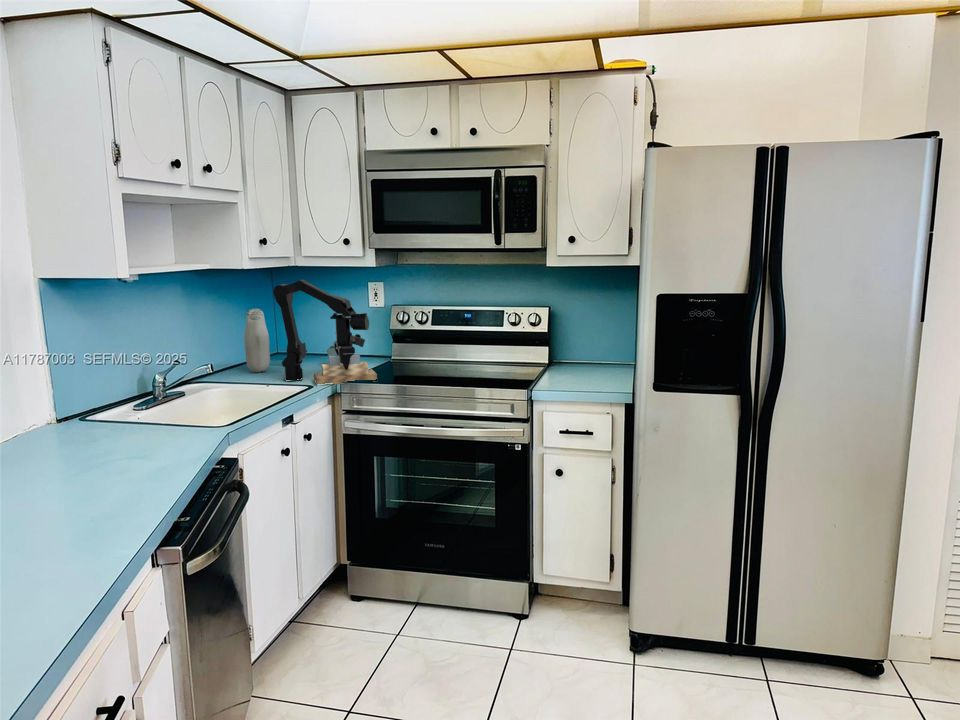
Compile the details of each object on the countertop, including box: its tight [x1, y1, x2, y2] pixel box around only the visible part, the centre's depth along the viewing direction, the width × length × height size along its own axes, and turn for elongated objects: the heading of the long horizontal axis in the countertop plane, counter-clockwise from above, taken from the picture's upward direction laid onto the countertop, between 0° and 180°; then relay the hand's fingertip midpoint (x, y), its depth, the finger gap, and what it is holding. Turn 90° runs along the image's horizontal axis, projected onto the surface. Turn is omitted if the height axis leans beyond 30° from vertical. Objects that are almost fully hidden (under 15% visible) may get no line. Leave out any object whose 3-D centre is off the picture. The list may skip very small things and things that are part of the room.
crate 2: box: [349, 353, 361, 365], centre depth 283 cm, size 4×4×4 cm
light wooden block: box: [321, 361, 369, 377], centre depth 283 cm, size 18×6×4 cm, turn 109°
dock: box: [313, 368, 378, 386], centre depth 283 cm, size 24×11×3 cm, turn 109°
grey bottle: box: [243, 308, 271, 373], centre depth 302 cm, size 10×10×28 cm
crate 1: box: [328, 355, 340, 366], centre depth 281 cm, size 4×4×4 cm
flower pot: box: [326, 345, 341, 363], centre depth 315 cm, size 9×9×9 cm
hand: (344, 367), depth 283 cm, fingers open, 9 cm apart
